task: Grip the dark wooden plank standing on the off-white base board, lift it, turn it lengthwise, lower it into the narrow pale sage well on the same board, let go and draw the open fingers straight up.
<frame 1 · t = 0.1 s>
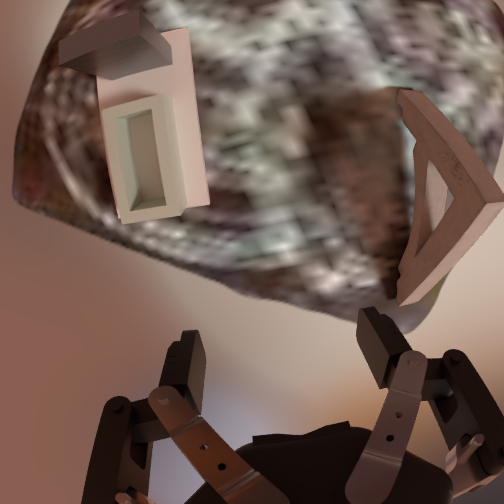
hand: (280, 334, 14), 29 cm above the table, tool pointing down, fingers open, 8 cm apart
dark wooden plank: (140, 62, 31), point 1 cm above the table, touching well board
well board: (148, 121, 35), on the table
wall bracket: (411, 203, 42), on the table
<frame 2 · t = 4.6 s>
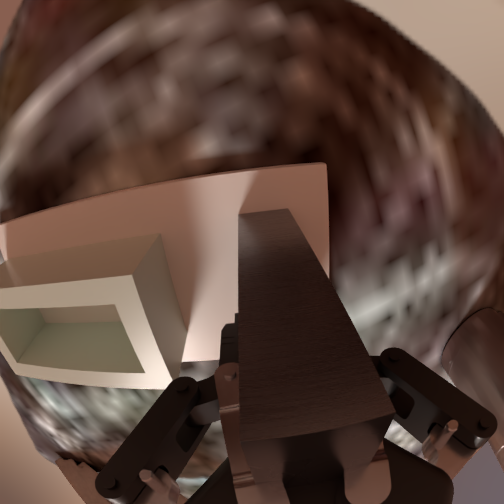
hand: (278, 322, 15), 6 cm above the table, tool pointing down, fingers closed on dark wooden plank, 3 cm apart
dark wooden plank: (270, 277, 19), point 1 cm above the table, touching gripper, well board
well board: (144, 284, 20), on the table
wall bracket: (138, 474, 37), on the table
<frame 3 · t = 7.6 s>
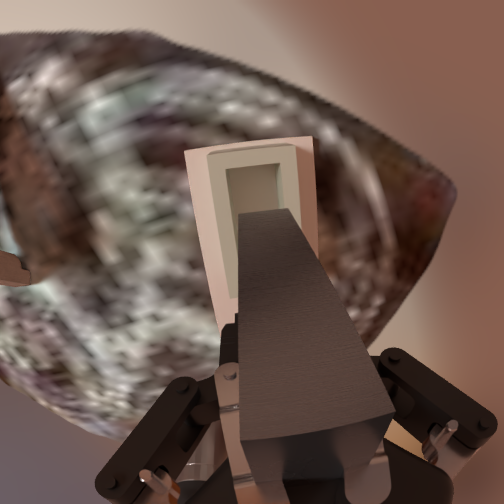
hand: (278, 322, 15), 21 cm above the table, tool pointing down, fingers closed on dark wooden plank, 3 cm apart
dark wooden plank: (270, 276, 19), point 16 cm above the table, touching gripper
well board: (260, 248, 36), on the table
when the fingers open (8 cm above the table, at t = 10.9 s): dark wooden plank drops 2 cm, resting on well board.
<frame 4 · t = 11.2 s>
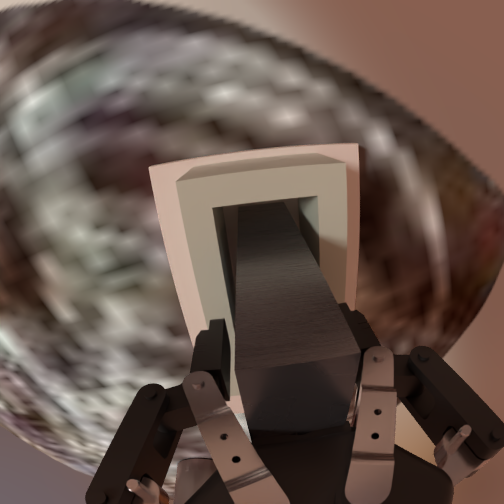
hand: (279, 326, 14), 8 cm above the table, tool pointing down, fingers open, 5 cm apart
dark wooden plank: (267, 264, 21), point 1 cm above the table, touching well board
well board: (271, 311, 24), on the table
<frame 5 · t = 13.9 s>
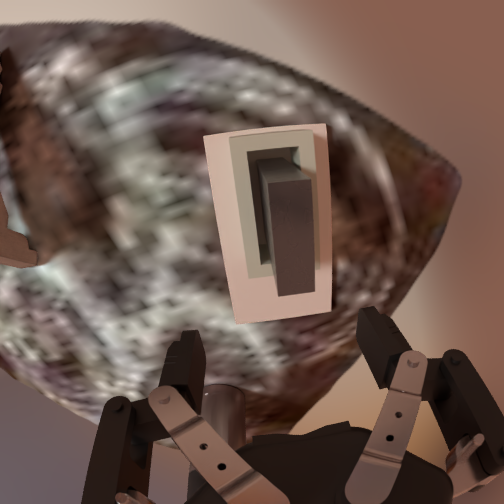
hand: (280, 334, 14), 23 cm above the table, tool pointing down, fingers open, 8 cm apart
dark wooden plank: (273, 196, 34), point 1 cm above the table, touching well board
well board: (276, 231, 37), on the table
wall bracket: (3, 155, 30), on the table
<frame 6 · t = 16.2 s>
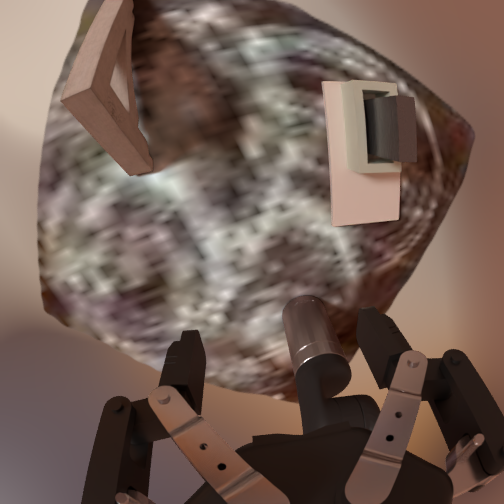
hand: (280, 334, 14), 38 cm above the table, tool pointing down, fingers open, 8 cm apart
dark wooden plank: (365, 126, 44), point 1 cm above the table, touching well board
well board: (364, 153, 47), on the table
wall bracket: (128, 73, 39), on the table
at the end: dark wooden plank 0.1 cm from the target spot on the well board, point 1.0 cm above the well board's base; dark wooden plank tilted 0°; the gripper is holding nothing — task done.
